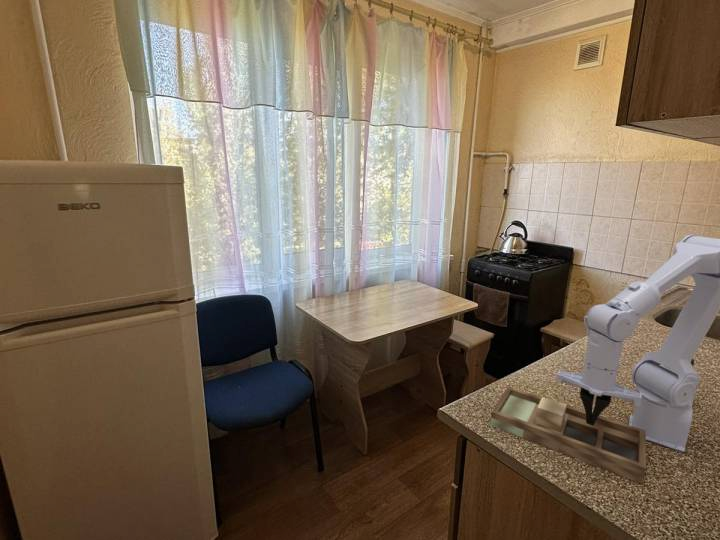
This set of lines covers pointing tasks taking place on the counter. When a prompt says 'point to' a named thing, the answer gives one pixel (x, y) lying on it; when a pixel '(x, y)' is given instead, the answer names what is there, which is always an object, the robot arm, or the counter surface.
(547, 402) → the birch block
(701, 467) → the counter surface
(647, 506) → the counter surface
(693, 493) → the counter surface
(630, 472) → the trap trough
